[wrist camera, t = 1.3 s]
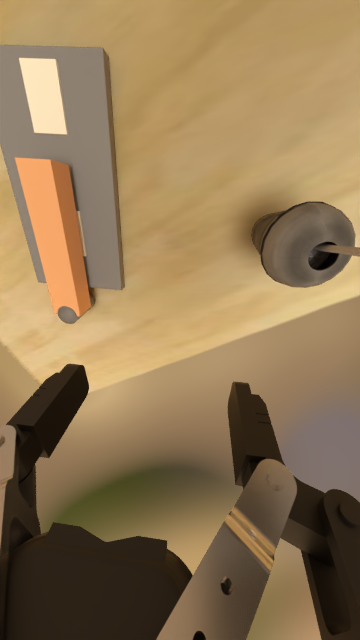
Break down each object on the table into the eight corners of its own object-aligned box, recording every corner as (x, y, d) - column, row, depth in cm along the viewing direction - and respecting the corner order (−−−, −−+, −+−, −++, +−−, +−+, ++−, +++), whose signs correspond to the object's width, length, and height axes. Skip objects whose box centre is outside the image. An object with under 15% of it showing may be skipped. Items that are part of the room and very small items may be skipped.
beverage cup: (230, 243, 30) (267, 296, 13) (264, 190, 27) (375, 165, 9) (272, 268, 31) (357, 348, 14) (309, 220, 28) (482, 247, 11)
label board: (-15, 53, 23) (-34, 39, 21) (108, 56, 23) (99, 43, 21) (50, 303, 38) (42, 308, 36) (126, 311, 37) (122, 316, 35)
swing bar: (92, 314, 35) (81, 325, 32) (69, 312, 36) (56, 322, 33) (68, 165, 26) (50, 159, 22) (37, 163, 26) (14, 157, 23)
